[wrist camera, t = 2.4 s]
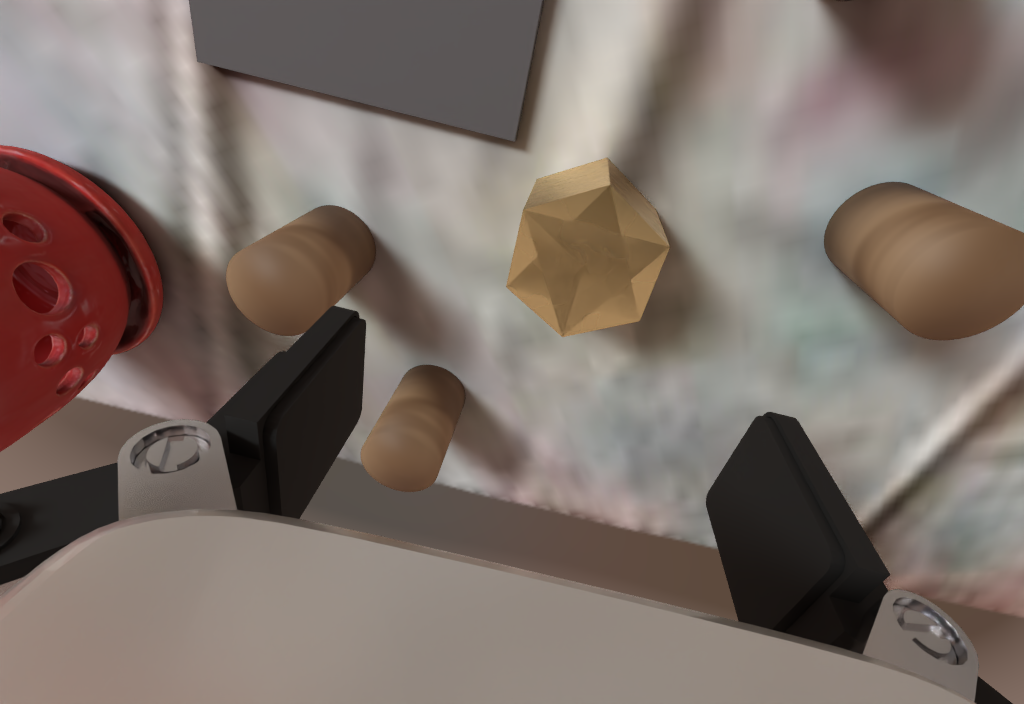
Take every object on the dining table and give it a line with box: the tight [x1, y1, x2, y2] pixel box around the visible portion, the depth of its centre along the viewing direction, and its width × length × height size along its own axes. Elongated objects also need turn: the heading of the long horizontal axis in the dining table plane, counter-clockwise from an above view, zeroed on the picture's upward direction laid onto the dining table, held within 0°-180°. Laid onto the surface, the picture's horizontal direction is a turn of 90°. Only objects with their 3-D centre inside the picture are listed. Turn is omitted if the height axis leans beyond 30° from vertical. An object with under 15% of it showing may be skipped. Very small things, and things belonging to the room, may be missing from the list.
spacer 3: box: [824, 182, 1024, 340], centre depth 18 cm, size 4×4×6 cm
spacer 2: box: [361, 365, 465, 492], centre depth 27 cm, size 4×4×6 cm
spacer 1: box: [226, 205, 376, 336], centre depth 22 cm, size 4×4×6 cm
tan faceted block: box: [506, 158, 670, 337], centre depth 20 cm, size 6×6×5 cm
